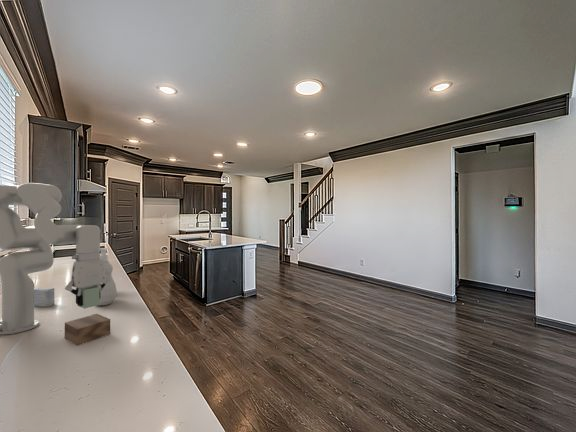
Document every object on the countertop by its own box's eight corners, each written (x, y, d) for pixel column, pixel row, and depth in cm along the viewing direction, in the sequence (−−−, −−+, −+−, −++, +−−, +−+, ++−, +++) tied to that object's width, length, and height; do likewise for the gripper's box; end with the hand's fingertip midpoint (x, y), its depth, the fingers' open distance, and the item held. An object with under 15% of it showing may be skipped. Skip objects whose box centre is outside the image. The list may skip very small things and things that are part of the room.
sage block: (84, 308, 101) (84, 290, 101) (77, 305, 104) (77, 287, 104) (99, 304, 105) (99, 287, 105) (92, 302, 108) (92, 284, 108)
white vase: (86, 302, 144) (86, 247, 144) (111, 297, 153) (111, 246, 152) (93, 310, 133) (94, 251, 132) (120, 304, 141) (120, 248, 141)
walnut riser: (77, 345, 97) (77, 329, 97) (64, 338, 103) (64, 322, 103) (110, 334, 106) (110, 319, 106) (96, 327, 112) (97, 313, 112)
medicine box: (54, 304, 140) (54, 287, 140) (46, 307, 136) (46, 290, 136) (41, 303, 141) (41, 287, 141) (32, 306, 137) (32, 289, 137)
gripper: (65, 260, 95) (65, 311, 95) (116, 254, 110) (116, 298, 110) (57, 259, 99) (57, 308, 99) (107, 253, 114) (107, 296, 114)
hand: (88, 302), depth 104 cm, fingers closed on sage block, 5 cm apart
